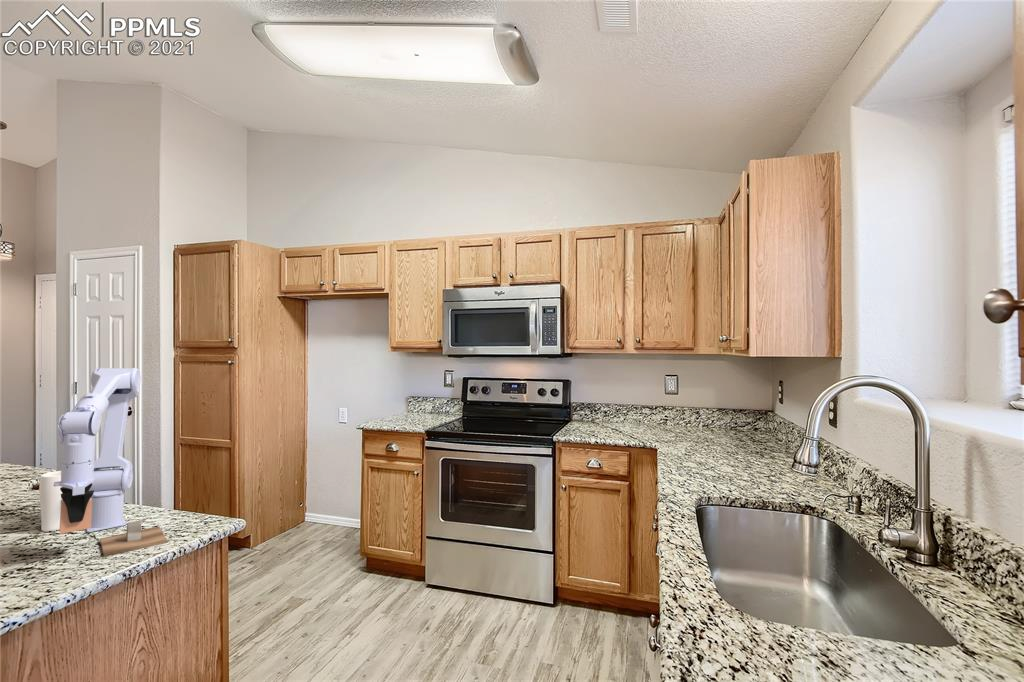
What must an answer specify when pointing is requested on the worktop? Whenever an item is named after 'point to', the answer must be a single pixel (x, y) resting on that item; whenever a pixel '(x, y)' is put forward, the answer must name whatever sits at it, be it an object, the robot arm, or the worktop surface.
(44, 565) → the worktop surface
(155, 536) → the post board
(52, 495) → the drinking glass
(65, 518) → the salmon orange block
